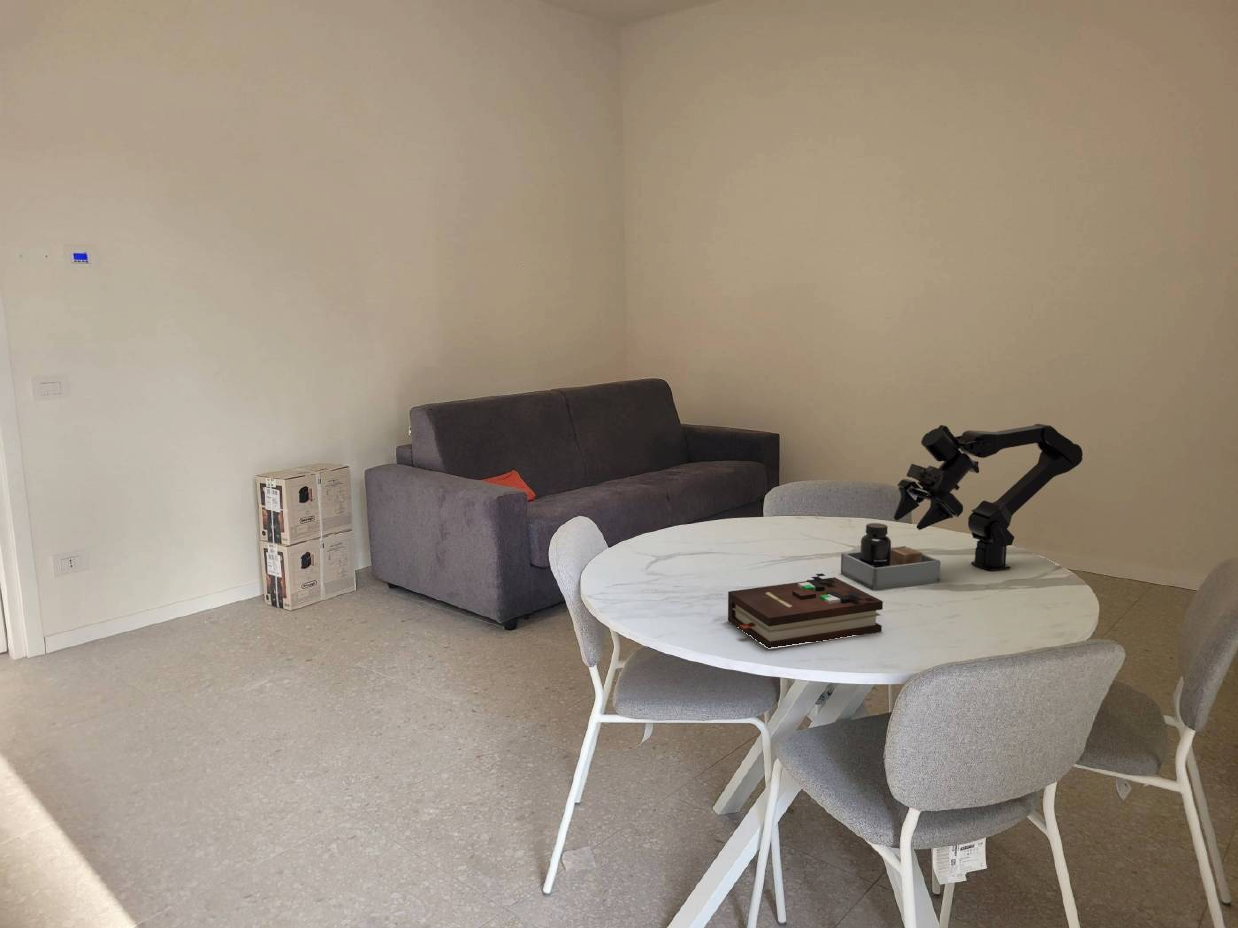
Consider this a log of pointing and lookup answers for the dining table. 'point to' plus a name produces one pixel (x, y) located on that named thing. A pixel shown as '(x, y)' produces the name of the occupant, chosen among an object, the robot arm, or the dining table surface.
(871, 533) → the supplement bottle
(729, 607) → the decorative book
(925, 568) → the tote
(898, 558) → the walnut cube
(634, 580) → the dining table surface
